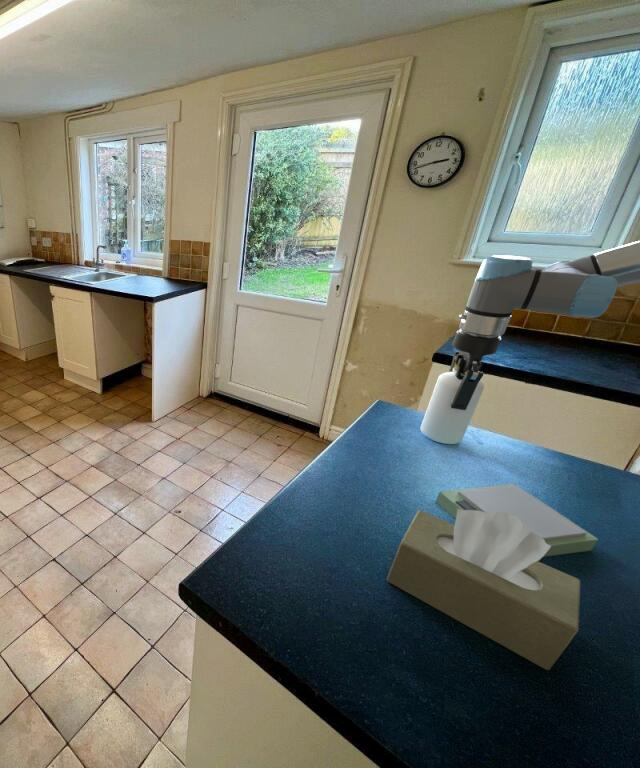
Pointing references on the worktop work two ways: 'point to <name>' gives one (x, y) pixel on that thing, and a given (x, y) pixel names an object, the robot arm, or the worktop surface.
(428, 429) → the white bottle
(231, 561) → the worktop surface
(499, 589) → the tissue box
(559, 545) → the kitchen scale
